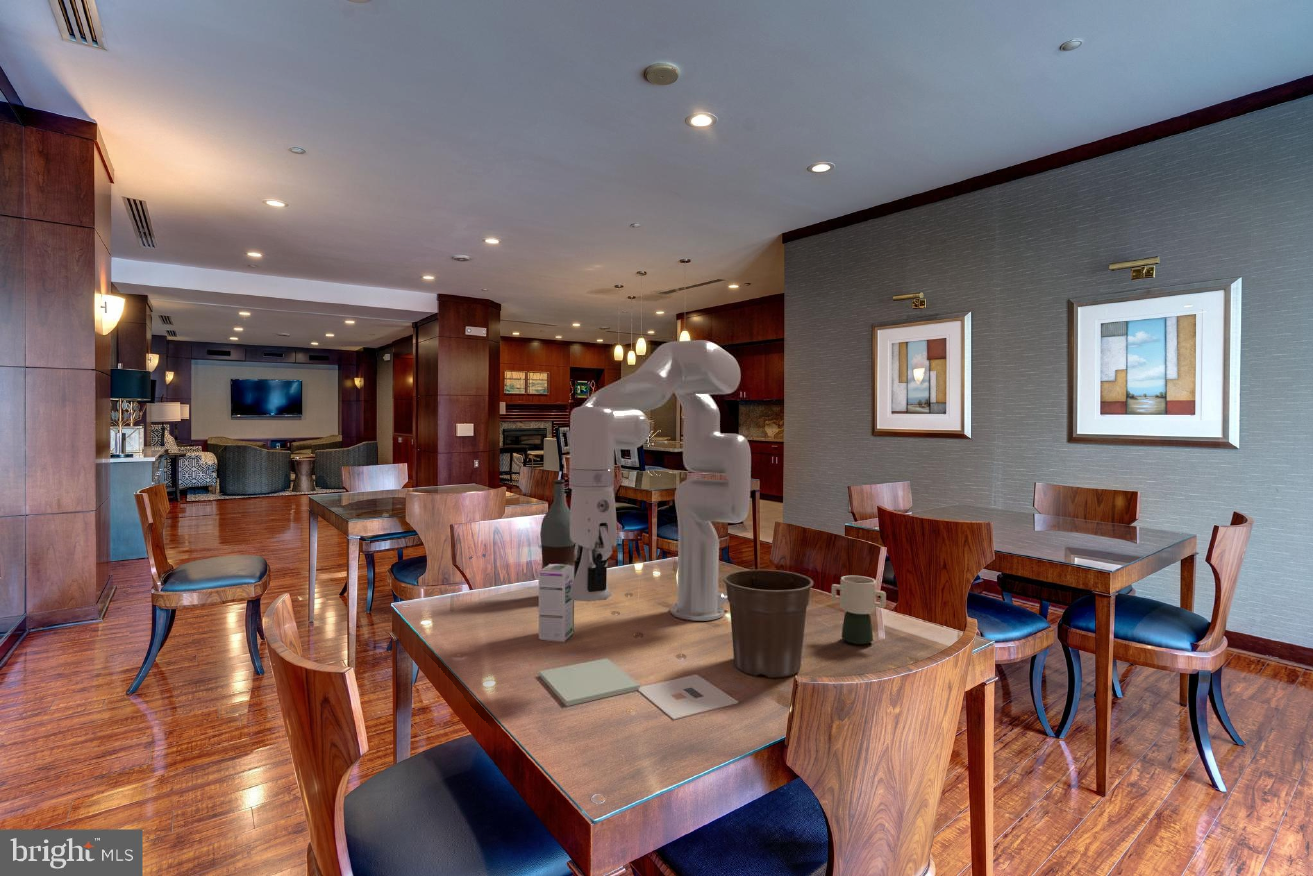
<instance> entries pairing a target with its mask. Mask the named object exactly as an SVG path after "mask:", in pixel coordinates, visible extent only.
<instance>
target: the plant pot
mask: <svg viewBox="0 0 1313 876" xmlns="http://www.w3.org/2000/svg"><path fill="white" fill-rule="evenodd" d="M723 582H724V584H725V587H726V594H727V599H728V601H729V602H728V603H729V614H730V625H731V626H730V627H731V638H732V651H733V664H734V666H735V667H736V668H737V669H738V670H740V671H741V672H743V673H745V674H748V675H752V676H754V677H757V676H760V675H763V676H765V677H767V678H773V679H775V678H786V677H790V676H793V675H795V674H797V673H798V672H799V671H800V669H801V667H802V658H803V657H802V656H803V648H804V647H803V645H804V637H805V629H806V628H805V625H806V617H807V607H808V606H809V604H810V594H811V589H812V587H813V586H814V581H813V580H812V578H811V577H808V576H806V575H803V574H800V573H796V572H792V571H785V570H777V569H775V570H774V569H744V570H743V569H742V570H737V571H732V572H729V573H727V574H725V575H724V576H723Z"/></svg>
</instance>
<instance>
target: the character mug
mask: <svg viewBox="0 0 1313 876" xmlns="http://www.w3.org/2000/svg"><path fill="white" fill-rule="evenodd" d="M837 590H839V593H840V594H839V595H837ZM830 596H831V599H832V600H834V601H839V605H840V608H841V610H843V611H845V613H844V618H843V622H842V623H843V624H842V629H841V638H842V639H843V640H844V641H845V642H848V643H850V644H855V645H861V644H862V645H864V644H869V643H871V642H873V641H874V638H873V636H874V635H873V626H872V617H871V615H870V614H873V613H874V612H875V611H876V609H877V608H883V609H884V608H885V607H886V605H887V603H886V602H887V593H886V592H885V591H883V590H877V580H876V579H875V578H872V577H868V576H862V575H845V576H844V575H843V576H841V577H840V584H836V583H835V584H834V583H833V584H832V585H831V595H830ZM877 596H878V597H879V596H880V602H879V601H877Z"/></svg>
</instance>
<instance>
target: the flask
mask: <svg viewBox="0 0 1313 876" xmlns="http://www.w3.org/2000/svg"><path fill="white" fill-rule="evenodd" d="M595 546H596V547H594V548H599V544H598V545H595ZM598 553H600V552H595V558H596V556H597V554H598ZM588 567H590V560H589V549H587V548H584V547H583V551H582V556H581V561H580V564H579V567H578V570H577V573H576V576H575V579H574V581H573V584H572V586H571V589H570V592H569V595H568V596H569V597H570V598H571V599H572V600H574V601H579V602H587V603H588V602H598V601H607V600H608V599H609V598H610V597H611V596H612V595H611V591H610V588H609V585H608V582H607V581H606V590H604V591H596V592H589V591H588V590H587V583H588Z"/></svg>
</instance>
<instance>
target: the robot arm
mask: <svg viewBox="0 0 1313 876" xmlns="http://www.w3.org/2000/svg"><path fill="white" fill-rule="evenodd" d="M741 373H742V372H741V368H740V365H739V363H738V361H737V359H736V358H735V357H734V356H733V355H732V354H730V353H729V352H728V351H726V350H725V349H723V348H722V347H721V346H719V345H718V344H716V343H714V342H712V341H709V340H705V339H704V340H703V339H698V340H696V339H695V340H694V339H693V340H682V341H681V340H680V341H677V340H676V341H668V342H666V343H662V344H661V345H659V346H658V347H657V348H656V349H655V350H654V351H653V352H652V353H651V355H650V356H649V357H648V358H647V359H646V361H645V362H643V364H641V366H640V367H638V369H637V370H636V371H635V372H634V373H631V374H630V375H627V376H624V377H622V378H620V379H619V380H617V381H614V382H612V383H610V384H608V385H606V386H603V387H602V388H600V389H598V390H597V391H595V392H594V393H593V394H591V395H590V396H589V397H588V398H587V399H586V401H584V402H583V403H582V405H580V406H578V407H574V408H573V409H572V411H571V412H570V418H569V419H570V421H569V422H570V423H569V429H570V430H569V475H568V476H569V480H568V481H569V483H568V484H569V486H568V488H569V489H571V498H570V508H569V510H570V538H571V540H572V541H573V543H574V546H573V547H574V549H575V551H574V567H575V572H574V579H575V576H576V573H577V570H578V567H579V564H580V561H581V556H582V551H583V547H584V548H587V549H589V560H590V567H588V583H587V590H588V591H589V592H596V591H604V590H606V582H607V579H608V578H607V577H608V576H607V571H608V570H607V569H608V566H609V560H610V556H611V555H612V554H613V549H614V548H616V546H617V543H618V541H617V536H618V533H617V529H618V528H617V511H616V509H617V508H616V499H615V492H614V489H615V488H614V487H615V450H634V449H637V448H640V447H641V446H643V445H644V444H645V443H646V442H647V440H648V438H649V435H650V429H651V426H650V421H649V419H648V416H647V415H646V414H645V412H649V411H651V410H655V409H657V408H660V407H662V406H663V405H664V404H666V403H667V402H669V399H670V398H671V397H672V395H673V394H675V396H676V398H677V400H678V401H679V404H680V405H681V408H682V409H681V410H682V413H683V434H682V435H683V438H682V459H683V460H682V461H683V466H684V468H685V469H686V470H687V471H688V472H689V471H690V472H692V473H698V474H709V475H724V476H726V480H720V479H719V480H716V479H708V478H707V479H706V478H704V479H703V478H690V479H689V478H688V479H686V480H683V481H682V482H681V483H679V484H678V485H677V487H676V490H675V492H674V493H675V494H674V504H675V505H674V506H675V510H676V516H677V525H678V526H677V527H678V528H677V529H678V531H677V532H678V533H677V534H678V541H677V542H678V550H677V551H678V553H677V555H678V556H677V558H678V559H677V560H678V561H677V602H675V603H673V604H672V605H671V606H670V614H672V615H673V616H674V617H676V618H679V619H682V620H686V621H697V622H699V621H700V622H704V621H705V622H706V621H713V620H717V619H720V618H722V617H724V615H725V608H724V607H723V606H722V605H724V604H725V603H729V601H728V599H727V593H726V594H724V592H719V563H720V561H719V556H720V553H719V552H720V549H719V548H720V539H719V536H718V535H719V534H718V533H717V531H716V529H715V527H714V525H713V524H712V522H719V523H728V524H729V523H731V524H738V523H741V522H743V521H745V520H746V518H747V517H748V515H749V512H750V511H749V510H750V502H751V478H752V476H751V474H752V472H751V471H752V468H751V467H752V454H751V453H752V452H751V447H750V443H749V441H748V439H746V437H745V436H744V435H741V434H738V433H723V432H722V433H721V427H720V426H721V425H720V424H721V422H720V421H721V413H720V410H719V407H718V405H717V403H716V401H715V400H714V399H713V398H712V396H711V395H727V394H732V393H734V392H735V391H736V390H737V389H738V387H739V385H740V382H741ZM595 545H598V546H599V545H600V547H598V548H594V547H596V546H595ZM595 552H599V553H598V554H597V556H596V558H595Z"/></svg>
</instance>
